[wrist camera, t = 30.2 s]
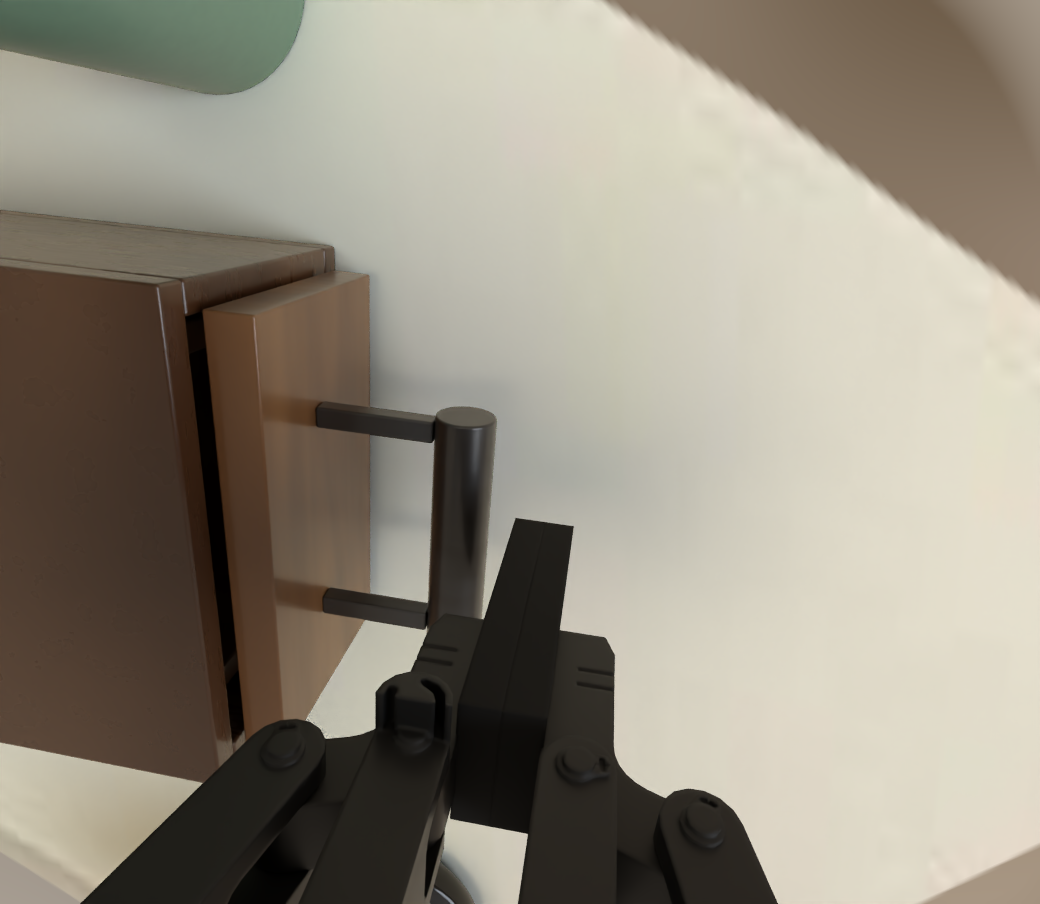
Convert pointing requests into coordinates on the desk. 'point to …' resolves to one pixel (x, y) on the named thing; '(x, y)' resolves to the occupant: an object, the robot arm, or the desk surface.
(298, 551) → the drawer
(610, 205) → the desk surface
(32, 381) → the cabinet
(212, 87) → the bottle
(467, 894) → the supplement container
